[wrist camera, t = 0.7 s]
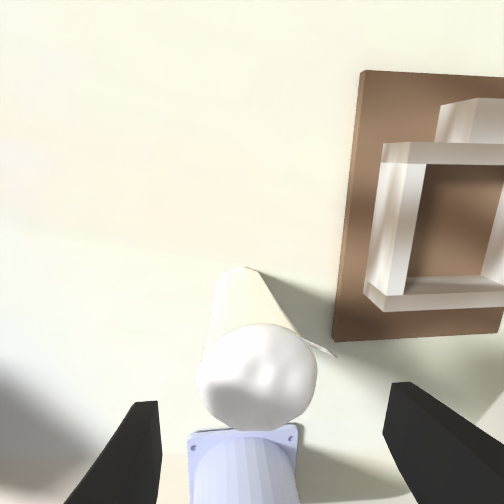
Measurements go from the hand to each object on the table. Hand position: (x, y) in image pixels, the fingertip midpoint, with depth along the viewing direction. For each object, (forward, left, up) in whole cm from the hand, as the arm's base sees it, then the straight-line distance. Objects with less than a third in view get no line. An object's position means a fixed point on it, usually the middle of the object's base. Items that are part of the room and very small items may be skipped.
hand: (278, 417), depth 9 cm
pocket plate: (+4, -12, -10) cm, 16 cm away
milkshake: (0, 0, -11) cm, 11 cm away
